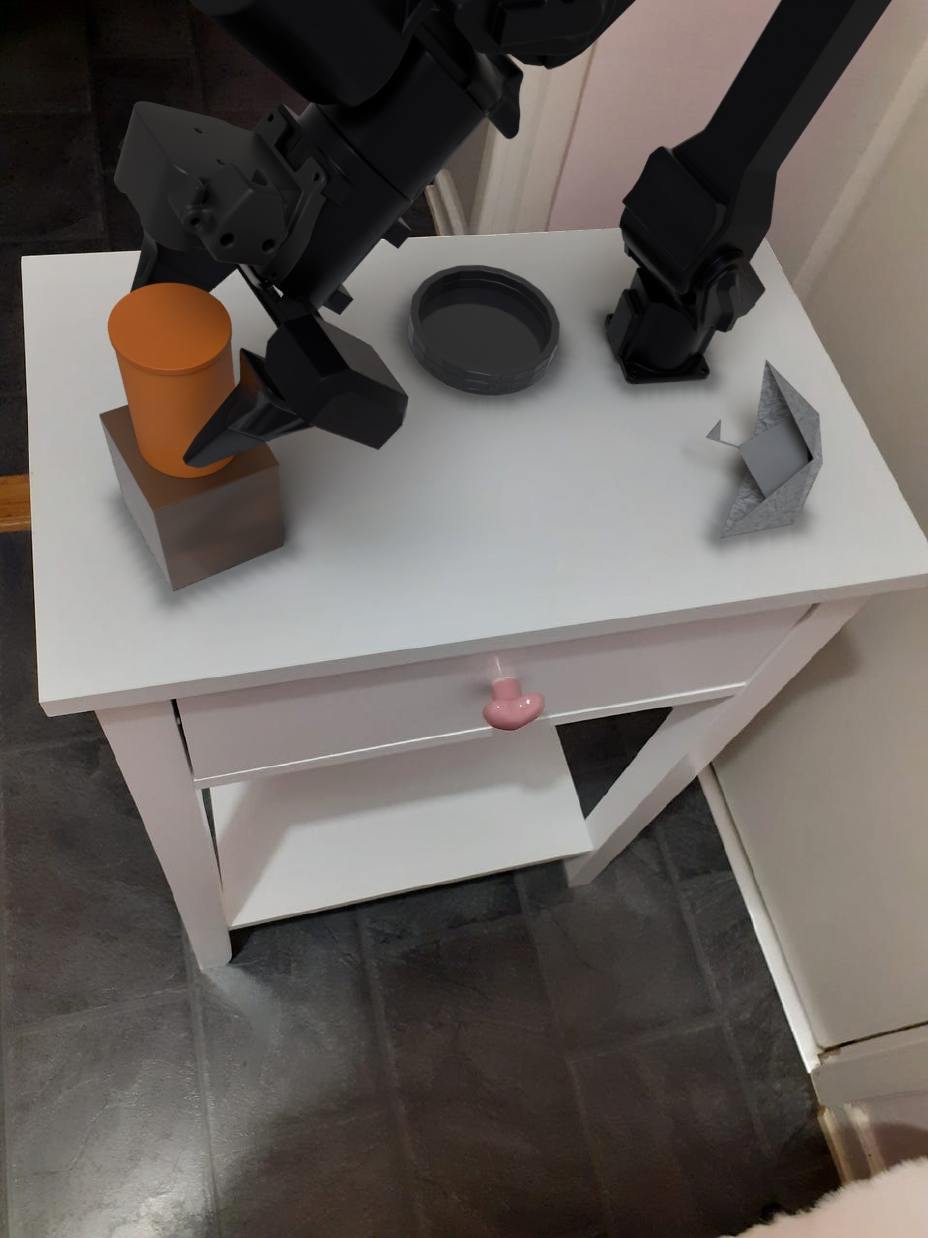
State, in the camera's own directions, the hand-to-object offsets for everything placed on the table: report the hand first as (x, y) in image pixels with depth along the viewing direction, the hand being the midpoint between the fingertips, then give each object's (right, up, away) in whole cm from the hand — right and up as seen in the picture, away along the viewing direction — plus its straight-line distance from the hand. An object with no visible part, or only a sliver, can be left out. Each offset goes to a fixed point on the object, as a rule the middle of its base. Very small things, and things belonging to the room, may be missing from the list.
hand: (155, 405), depth 45 cm
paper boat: (+35, -1, +19) cm, 40 cm away
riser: (-1, -5, +10) cm, 11 cm away
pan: (+16, +10, +21) cm, 28 cm away
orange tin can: (+1, -1, +3) cm, 4 cm away
